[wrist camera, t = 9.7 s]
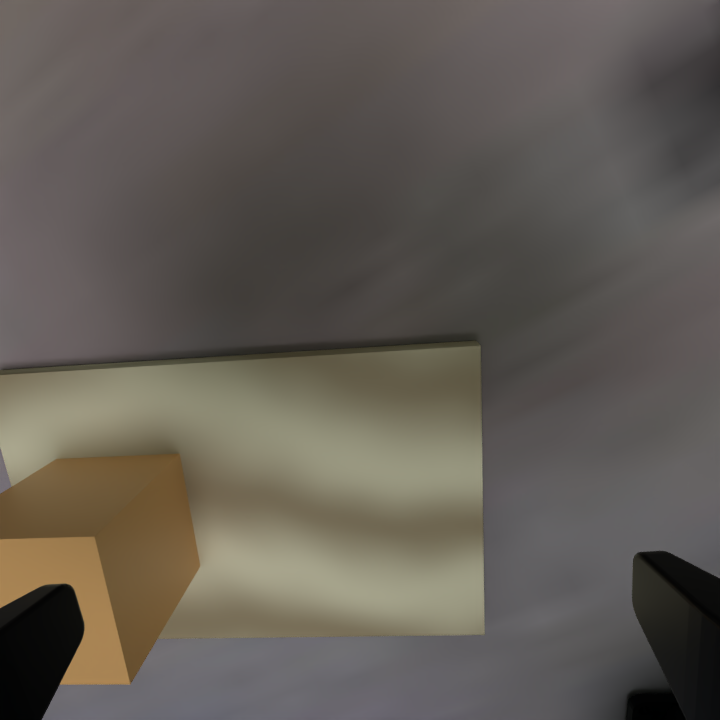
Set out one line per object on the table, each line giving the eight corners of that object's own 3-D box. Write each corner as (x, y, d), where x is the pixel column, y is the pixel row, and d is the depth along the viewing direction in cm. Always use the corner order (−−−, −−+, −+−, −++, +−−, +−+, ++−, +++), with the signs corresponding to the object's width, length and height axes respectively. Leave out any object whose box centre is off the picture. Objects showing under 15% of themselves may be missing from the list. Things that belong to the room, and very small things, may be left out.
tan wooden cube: (200, 566, 20) (130, 684, 14) (84, 569, 20) (-27, 684, 15) (179, 453, 18) (94, 536, 13) (56, 458, 19) (-76, 541, 13)
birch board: (480, 616, 21) (484, 634, 20) (70, 622, 22) (55, 639, 21) (475, 340, 17) (480, 345, 17) (0, 370, 19) (-20, 376, 18)
